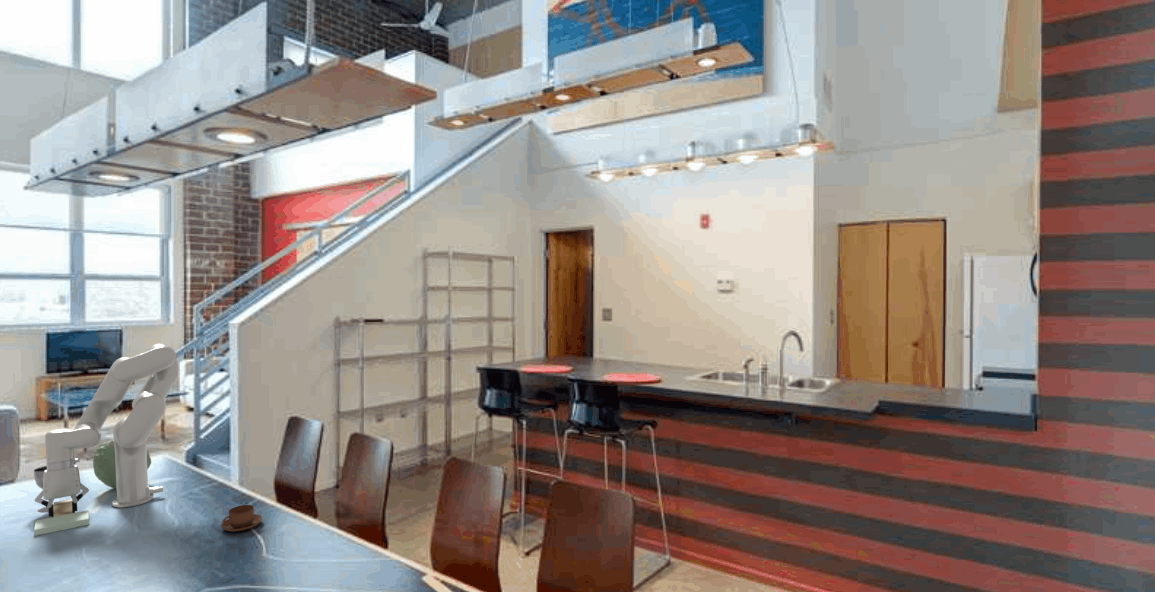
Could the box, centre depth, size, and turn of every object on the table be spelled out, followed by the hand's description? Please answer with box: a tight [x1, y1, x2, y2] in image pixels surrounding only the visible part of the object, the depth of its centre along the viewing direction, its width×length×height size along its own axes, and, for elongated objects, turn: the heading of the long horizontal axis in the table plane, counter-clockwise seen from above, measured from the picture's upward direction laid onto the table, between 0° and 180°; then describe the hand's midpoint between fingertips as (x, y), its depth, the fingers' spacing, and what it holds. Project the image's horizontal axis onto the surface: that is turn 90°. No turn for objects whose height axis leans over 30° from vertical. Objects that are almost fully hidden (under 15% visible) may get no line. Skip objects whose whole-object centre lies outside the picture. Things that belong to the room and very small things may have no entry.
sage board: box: [33, 509, 90, 537], centre depth 210 cm, size 14×10×2 cm
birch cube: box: [53, 498, 73, 517], centre depth 218 cm, size 5×5×5 cm
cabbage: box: [91, 439, 152, 489], centre depth 247 cm, size 16×19×20 cm
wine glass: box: [33, 465, 49, 513], centre depth 225 cm, size 8×8×15 cm
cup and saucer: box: [220, 504, 263, 532], centre depth 206 cm, size 12×12×6 cm
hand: (63, 515), depth 218 cm, fingers closed on birch cube, 5 cm apart
